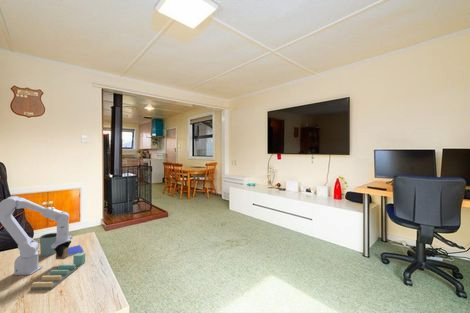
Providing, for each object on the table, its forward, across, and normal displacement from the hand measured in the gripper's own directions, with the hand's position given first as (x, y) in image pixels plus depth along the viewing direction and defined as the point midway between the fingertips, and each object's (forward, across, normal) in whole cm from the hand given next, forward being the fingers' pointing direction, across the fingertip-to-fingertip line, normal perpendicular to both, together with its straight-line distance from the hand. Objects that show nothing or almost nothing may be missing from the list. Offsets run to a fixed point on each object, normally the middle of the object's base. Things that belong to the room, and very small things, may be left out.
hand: (62, 255), depth 126 cm
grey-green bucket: (+6, +15, +18) cm, 24 cm away
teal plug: (+6, 0, -10) cm, 12 cm away
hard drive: (+6, +18, +4) cm, 20 cm away
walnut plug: (+2, 0, 0) cm, 2 cm away
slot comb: (+6, -15, -8) cm, 18 cm away
